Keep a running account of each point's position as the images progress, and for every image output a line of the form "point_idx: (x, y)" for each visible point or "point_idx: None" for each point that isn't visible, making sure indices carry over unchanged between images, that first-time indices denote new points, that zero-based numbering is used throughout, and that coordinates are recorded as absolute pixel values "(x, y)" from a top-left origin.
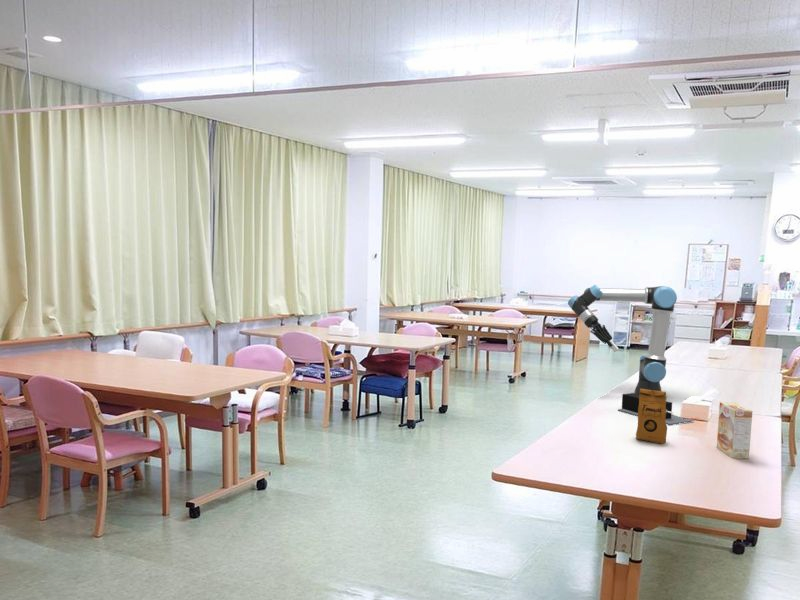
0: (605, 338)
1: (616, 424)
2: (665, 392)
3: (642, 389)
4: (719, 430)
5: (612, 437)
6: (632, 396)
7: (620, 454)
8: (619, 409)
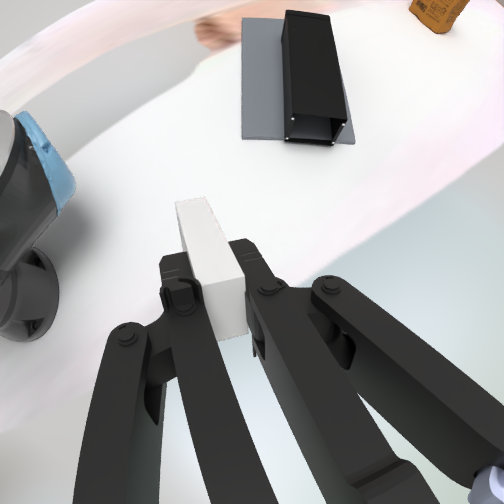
0: (329, 302)
1: (436, 79)
2: None
3: None
4: None
5: (474, 55)
6: (341, 84)
7: (487, 31)
8: (352, 139)
